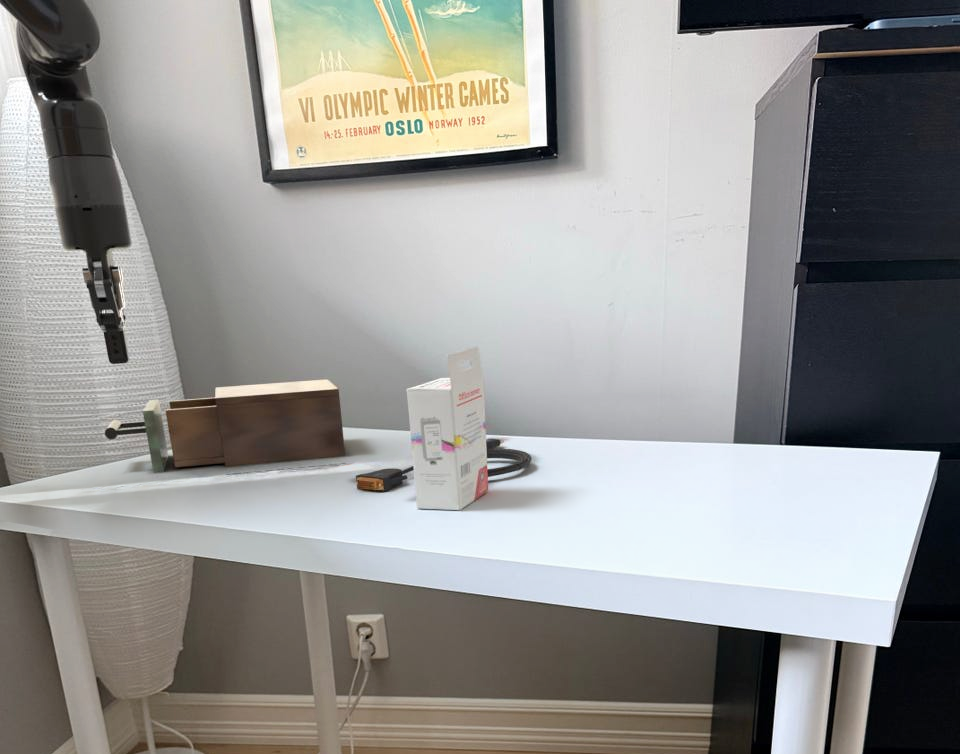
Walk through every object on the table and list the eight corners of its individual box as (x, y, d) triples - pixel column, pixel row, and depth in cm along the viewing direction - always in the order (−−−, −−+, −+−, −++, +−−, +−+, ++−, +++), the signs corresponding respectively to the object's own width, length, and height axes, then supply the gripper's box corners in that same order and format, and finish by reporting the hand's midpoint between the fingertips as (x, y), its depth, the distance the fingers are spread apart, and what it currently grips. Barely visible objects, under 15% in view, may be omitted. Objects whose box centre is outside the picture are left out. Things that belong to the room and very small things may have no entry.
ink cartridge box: (446, 490, 99) (437, 346, 94) (489, 491, 97) (483, 345, 92) (413, 509, 92) (401, 354, 86) (460, 511, 90) (451, 353, 84)
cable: (583, 452, 116) (583, 439, 115) (453, 501, 94) (452, 486, 94) (492, 445, 123) (491, 434, 122) (352, 489, 101) (350, 476, 101)
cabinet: (226, 474, 113) (215, 398, 109) (225, 457, 124) (215, 387, 121) (346, 463, 116) (338, 388, 113) (334, 447, 127) (327, 379, 124)
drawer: (110, 477, 110) (98, 414, 107) (119, 460, 120) (108, 403, 118) (267, 462, 114) (259, 402, 111) (263, 447, 124) (256, 392, 122)
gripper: (63, 209, 110) (93, 361, 116) (44, 200, 98) (79, 370, 104) (129, 207, 112) (155, 356, 118) (119, 198, 100) (148, 365, 106)
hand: (119, 362), depth 111 cm, fingers closed
